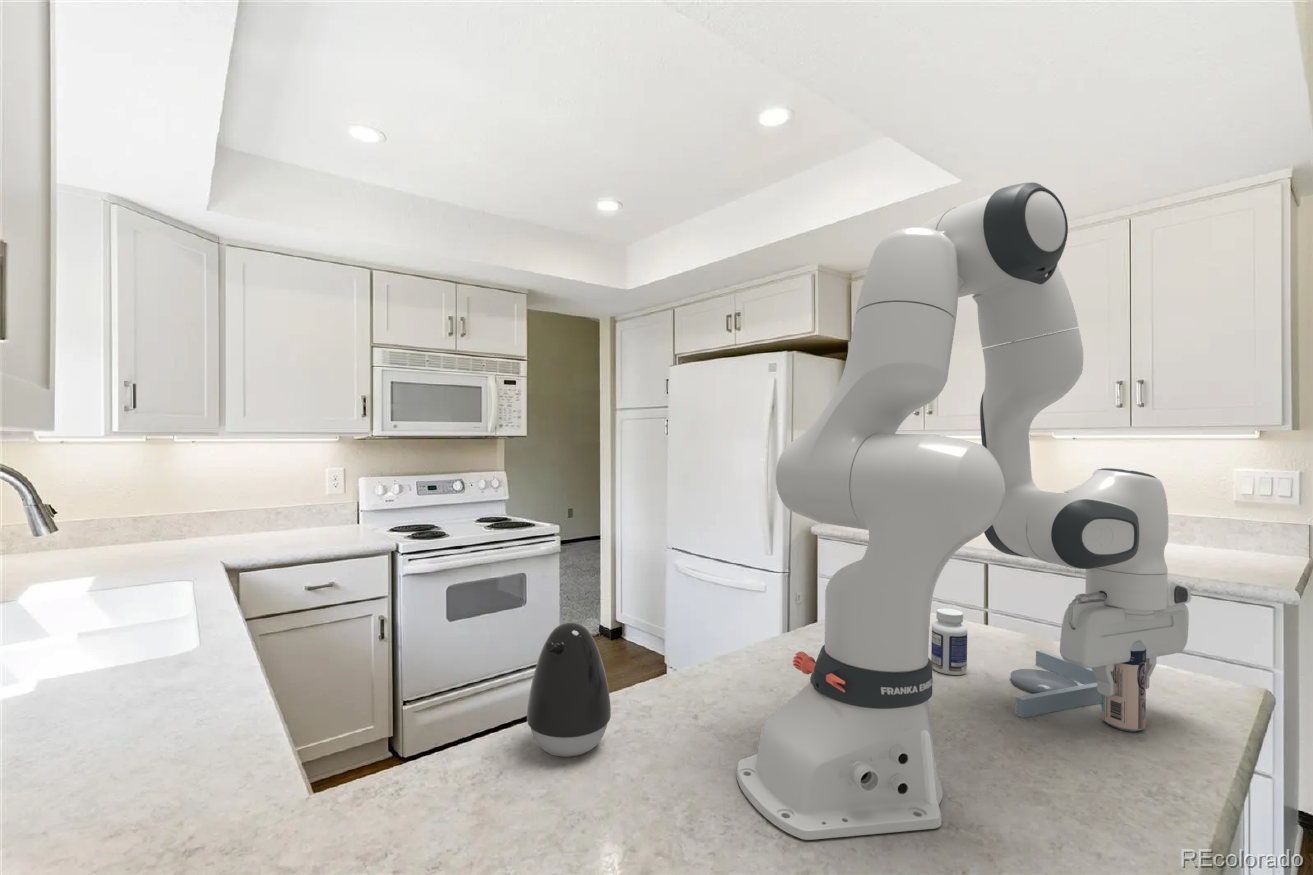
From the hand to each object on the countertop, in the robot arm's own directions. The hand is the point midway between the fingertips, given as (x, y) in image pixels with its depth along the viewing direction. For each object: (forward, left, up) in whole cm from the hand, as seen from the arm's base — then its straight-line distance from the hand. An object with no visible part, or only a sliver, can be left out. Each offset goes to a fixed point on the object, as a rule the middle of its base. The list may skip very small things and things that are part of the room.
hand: (1123, 691), depth 84 cm
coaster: (+2, +13, -5) cm, 14 cm away
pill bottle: (-7, +23, -5) cm, 25 cm away
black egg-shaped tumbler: (-72, +18, -5) cm, 74 cm away
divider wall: (+1, +13, -5) cm, 14 cm away
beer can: (0, 0, -5) cm, 5 cm away
